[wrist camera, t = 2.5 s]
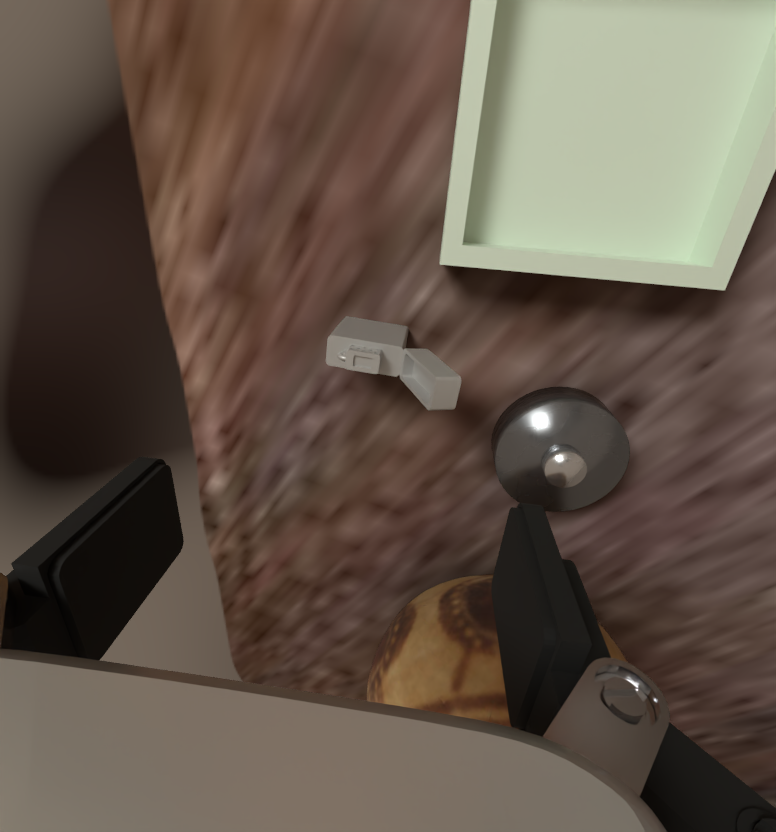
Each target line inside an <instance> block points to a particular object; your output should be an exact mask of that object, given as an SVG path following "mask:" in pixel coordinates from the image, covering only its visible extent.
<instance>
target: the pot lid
mask: <svg viewBox="0 0 776 832" xmlns="http://www.w3.org/2000/svg"><path fill="white" fill-rule="evenodd" d="M492 453H493V458H494V462H495V467H496V472H497V476H498V478H499V481H500V483H501V485H502V486H503V488H504V489H505V490H506V492H507V493H508V494H509V495H510V496H511V497H513V498H514V499H515V500H517V501H518V502H520V503H526V504H534V505H541V506H543V508H544V511H552V512H558V511H569V510H574V509H578V508H581V507H584V506H587V505H589V504H591V503H594V502H595V501H597V500H599V499H601V498H602V497H603V496H605V495H606V494H608V493H609V492H610V491H611V490H612V489H613V488H614V487H615V486H616V485H617V483H618V482H619V481H620V479H621V478H622V476H623V475H624V473H625V470H626V468H627V465H628V462H629V455H630V447H629V442H628V438H627V435H626V433H625V431H624V429H623V428H622V426H621V425H620V424H619V422H618V421H617V420H616V419H615V417H614V416H613V415H612V414H611V412H610V411H609V410H608V409H607V408H606V406H605V405H604V404H603V403H602V402H601V401H600V400H599V399H597V398H596V397H594V396H593V395H591V394H589V393H587V392H585V391H582V390H579V389H575V388H569V387H550V388H544V389H540V390H537V391H534V392H531V393H529V394H527V395H525V396H523V397H521V398H519V399H518V400H516V401H515V402H514V403H512V404H511V405H510V406H509V407H508V408H507V409H506V410H505V411H504V412H503V414H502V415H501V416H500V418H499V420H498V421H497V423H496V425H495V428H494V431H493V434H492Z"/></svg>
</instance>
